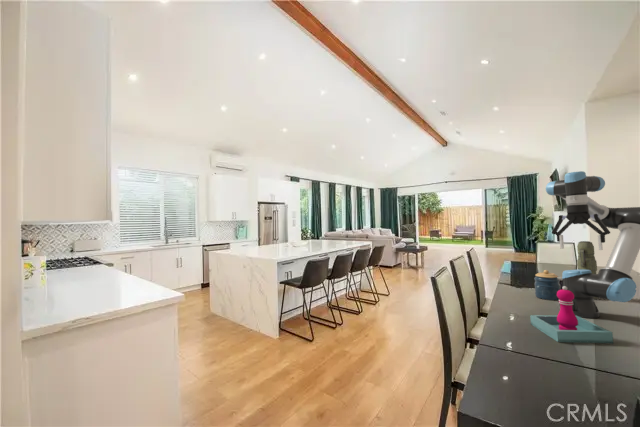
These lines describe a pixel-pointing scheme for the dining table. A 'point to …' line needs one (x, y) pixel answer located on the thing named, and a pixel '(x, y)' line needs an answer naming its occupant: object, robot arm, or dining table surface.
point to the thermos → (586, 257)
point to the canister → (546, 285)
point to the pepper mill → (566, 310)
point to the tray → (583, 334)
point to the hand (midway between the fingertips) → (580, 249)
